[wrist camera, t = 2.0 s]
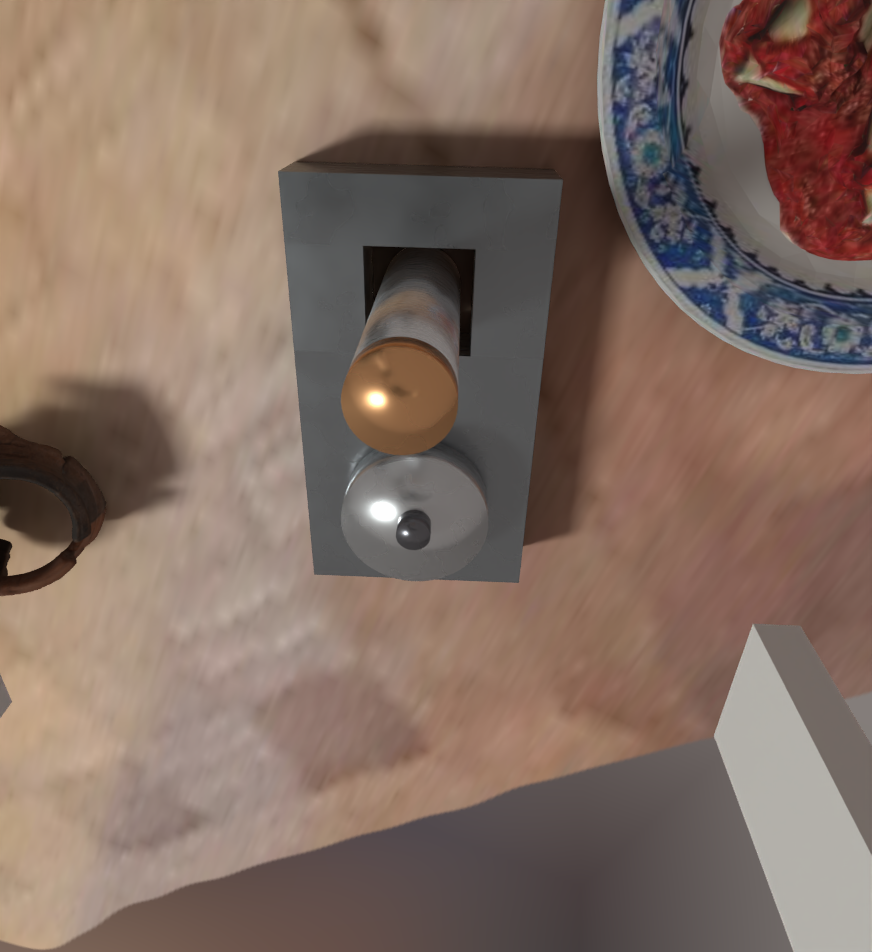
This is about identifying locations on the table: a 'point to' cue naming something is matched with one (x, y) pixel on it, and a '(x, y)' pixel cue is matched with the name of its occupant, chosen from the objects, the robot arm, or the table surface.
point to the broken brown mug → (70, 484)
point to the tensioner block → (480, 363)
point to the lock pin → (408, 357)
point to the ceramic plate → (748, 167)
